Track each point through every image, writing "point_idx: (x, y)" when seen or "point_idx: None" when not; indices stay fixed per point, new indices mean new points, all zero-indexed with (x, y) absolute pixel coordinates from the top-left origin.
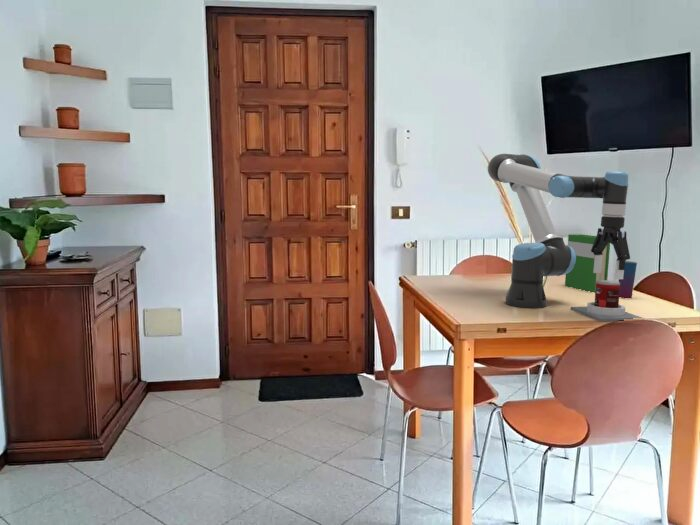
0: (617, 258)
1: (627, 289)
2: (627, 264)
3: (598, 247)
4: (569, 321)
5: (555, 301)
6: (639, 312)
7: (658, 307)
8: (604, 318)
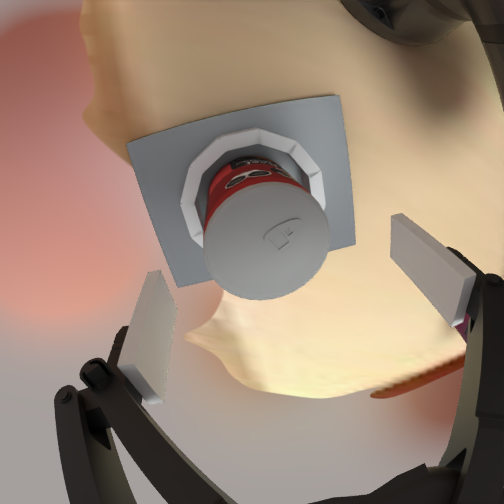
0: (88, 372)
1: (464, 328)
2: None
3: (490, 340)
4: (109, 40)
5: (450, 109)
6: (307, 307)
7: (365, 356)
8: (130, 158)
